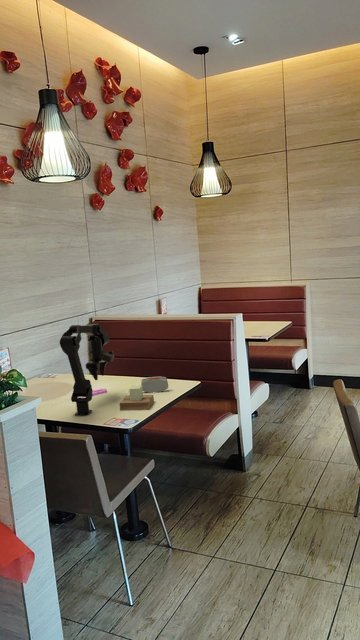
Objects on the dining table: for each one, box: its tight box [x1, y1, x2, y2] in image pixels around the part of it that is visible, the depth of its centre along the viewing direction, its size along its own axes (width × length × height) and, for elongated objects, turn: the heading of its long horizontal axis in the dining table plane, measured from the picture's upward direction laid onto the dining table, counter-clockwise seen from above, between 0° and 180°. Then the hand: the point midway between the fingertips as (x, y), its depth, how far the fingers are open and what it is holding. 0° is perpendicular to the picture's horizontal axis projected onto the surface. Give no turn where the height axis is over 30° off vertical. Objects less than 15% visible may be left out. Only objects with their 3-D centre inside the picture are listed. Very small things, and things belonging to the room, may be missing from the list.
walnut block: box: [119, 394, 155, 411], centre depth 251 cm, size 12×14×4 cm
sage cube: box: [128, 385, 144, 401], centre depth 250 cm, size 5×5×6 cm
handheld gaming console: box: [140, 375, 169, 394], centre depth 272 cm, size 14×3×8 cm, turn 88°
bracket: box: [92, 388, 108, 397], centre depth 278 cm, size 13×6×7 cm, turn 122°
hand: (99, 377), depth 263 cm, fingers open, 9 cm apart
